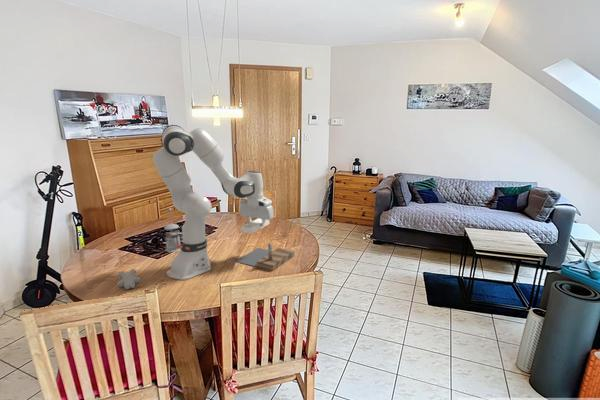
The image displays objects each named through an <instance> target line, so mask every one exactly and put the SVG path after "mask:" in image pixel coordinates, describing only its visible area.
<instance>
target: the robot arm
mask: <svg viewBox="0 0 600 400" xmlns="http://www.w3.org/2000/svg"><path fill="white" fill-rule="evenodd" d="M190 152H193V153H194V154H195V155H196V156H197V157H198V159H199V160H200V161H202V163H203V164H204V165H205V166H206V167H208V168H209V170H211V171H212V173H213V174H214V176H215V177H216V178H217V179H218V181H219V182H220V185H221V189H222V191H223V192H224V193H225V194H227V195H229V196H232V197H235V198H238V199H241V200H240V201H239V215H240V216H241V217H245V218H246V219H247V220H248V221H247V222H248V223H250V222H252V221H253V220H252V218H253V219H258V218H259V219H262V223H260V226H261V227H263V228H264V223H265V221H266V220H269V221H271V220H273V218H274V207H273V205H272V204H273V200H271V199H269V198H267V197H265V196H264V181H263V179H264V178H263V175H262V173H261V172H260V171H255V170H248V171H246V173H245V174H243V175H242V176H241V177H239V178H238V177H236V176H233V175H232V174H230V172H229V171H228V170H227V168H226V167H225V165H224V164H223V161H224V158H225V153H224V151H223V149H222V148H221V146H220V145H219V144H218V143H217V141H216V140H215V139H214V138H213V137H212V136H211V135H210V134H209V133H208V132H207V131H205V129H203V128H200V127H199V128H194V129H193V130H191V131H189V132H187V131H185V130H184V128H183V127H181V126H179V125H177V124H171V125H170V124H169V125H167V126H165V128H164V129H163V130H162V133H161V148H159V149H158V150H156V151H154V153H153V156H152V161H153V163H154V167H155V168H156V171H157V172H158V175H159V176H160V177H161V179H162V181H163V183H164V184H165V185H166V188H167V189H168V191H169V193H170V195H171V196H170V197H171V198H172V205H173V207H174V208H175V209H176V210H177V211H179V212H180V213H184V214H185V220H184V224H183V225H182V226H181V232H182V233H181V236H182V243H181V244H180V245H179V244H178V243H177V244H178V245H177V248H179V249H181V250H180V251H178V254H177V255H176V256H175V257H174V258H173V260H171V263H170V264H171V265H170V269H169V270H167V271H166V276H167V277H169V278H172V279H175V280H179V281H180V280H182V281H184V280H189V279H191V278H194V277H197V276H199V275H202V274H203V273H206V272H208V271H211V270H212V267H211V266H212V264H211V261H210V259H209V253H208V250H207V249H208V248H207V247H208V242H207V238H206V221H207V217H208V215H209V214H210V213H211V211H212V202H211V201H210V199H208V197H206V196H204V195H203V194H199V193H196V192H195V191H194V190H193V188H192V185H191V178H190V175H189V174H188V172H187V170H186V169H185V167H184V166H183V163H182V161H181V160H180V158H179V157H180V156H184V155H185V154H187V153H190Z"/></svg>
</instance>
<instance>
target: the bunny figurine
mask: <svg viewBox="0 0 600 400" xmlns="http://www.w3.org/2000/svg"><path fill="white" fill-rule="evenodd" d="M136 273H137V270H136V269H134V268H133V269H131V270H130V271H127V272H124V271H119V272H118V274H117V276H118V277H121V279H120V280H118V281H116V285H117V287H118V288H124V290H130V288H131V289H135V288H136V285H137V284H138V283H141V276H135V275H136Z"/></svg>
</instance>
